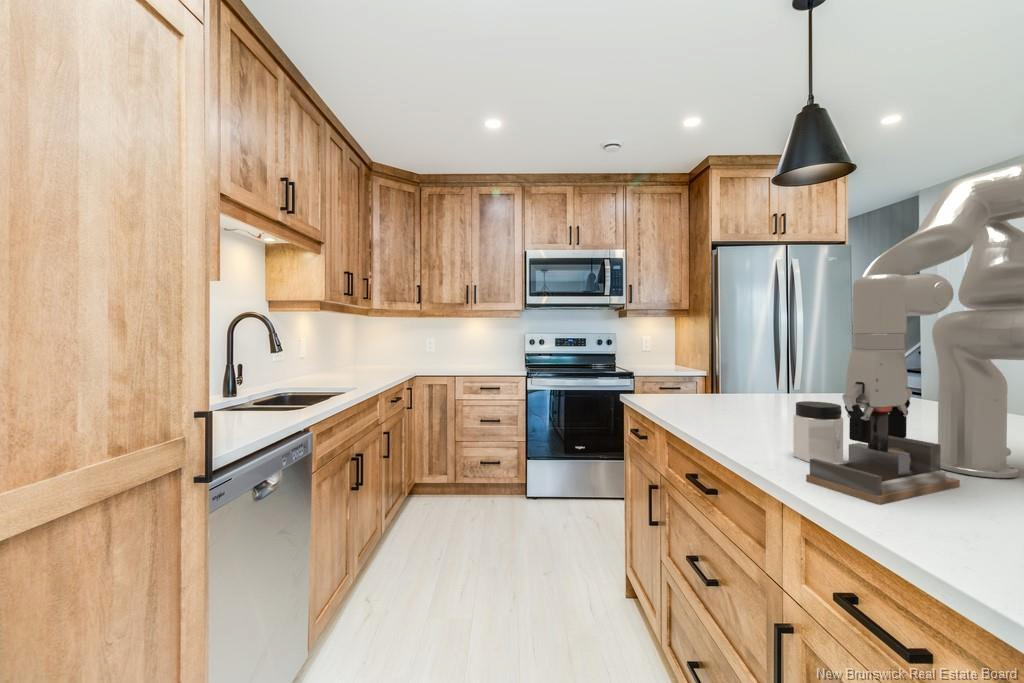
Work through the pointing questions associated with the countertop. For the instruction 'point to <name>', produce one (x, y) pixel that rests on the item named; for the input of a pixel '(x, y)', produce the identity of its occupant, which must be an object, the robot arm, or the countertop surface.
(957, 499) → the countertop surface
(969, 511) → the countertop surface
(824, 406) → the jar
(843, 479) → the press base
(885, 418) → the handle
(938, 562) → the countertop surface
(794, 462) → the countertop surface
